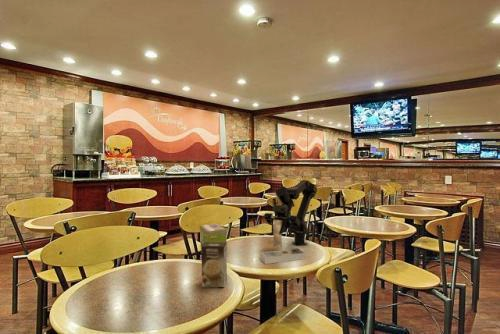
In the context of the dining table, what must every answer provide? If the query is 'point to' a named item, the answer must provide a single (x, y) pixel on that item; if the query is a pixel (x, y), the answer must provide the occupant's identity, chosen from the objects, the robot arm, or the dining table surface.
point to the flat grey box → (282, 256)
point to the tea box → (212, 234)
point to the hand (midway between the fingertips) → (276, 233)
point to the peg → (277, 233)
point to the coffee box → (214, 264)
